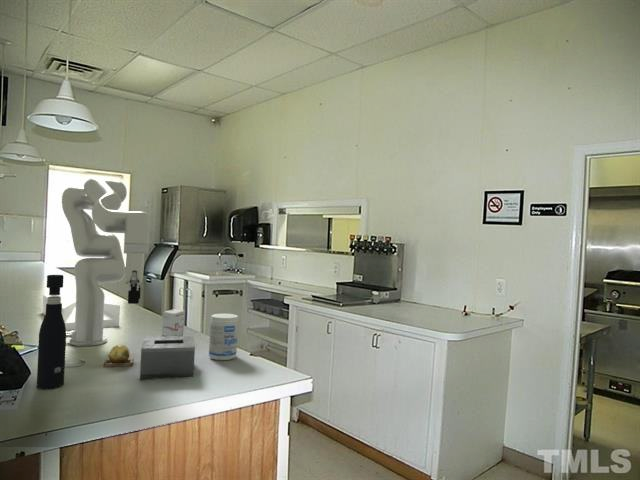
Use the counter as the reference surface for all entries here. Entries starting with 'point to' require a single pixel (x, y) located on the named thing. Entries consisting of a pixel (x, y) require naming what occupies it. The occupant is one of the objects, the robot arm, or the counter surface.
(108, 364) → the cradle
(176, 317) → the ink box
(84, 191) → the robot arm
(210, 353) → the supplement tub
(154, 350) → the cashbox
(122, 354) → the coin
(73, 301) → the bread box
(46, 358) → the black water bottle
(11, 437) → the counter surface
